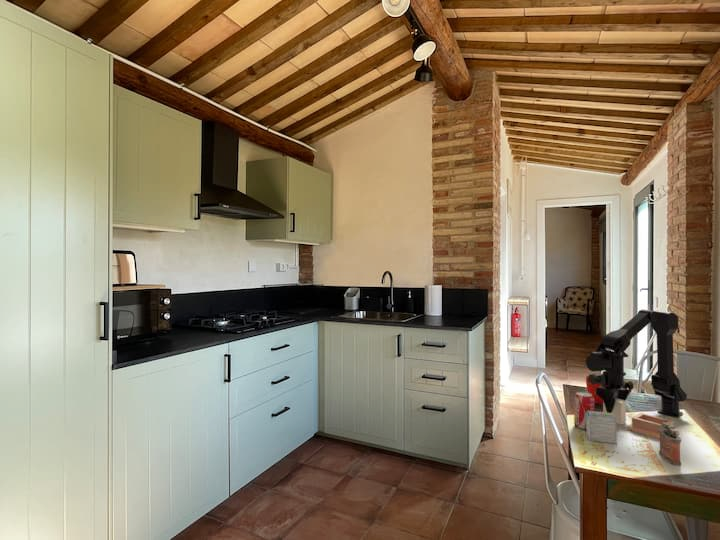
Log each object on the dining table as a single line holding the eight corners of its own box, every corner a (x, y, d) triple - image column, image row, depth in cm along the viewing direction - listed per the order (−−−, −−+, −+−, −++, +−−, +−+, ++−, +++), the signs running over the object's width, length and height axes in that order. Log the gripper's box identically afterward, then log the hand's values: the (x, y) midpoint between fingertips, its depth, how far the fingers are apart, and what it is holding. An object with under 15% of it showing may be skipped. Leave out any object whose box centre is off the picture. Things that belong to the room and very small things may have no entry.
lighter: (684, 466, 113) (684, 431, 113) (670, 465, 114) (670, 430, 113) (668, 453, 121) (668, 420, 121) (655, 452, 121) (655, 420, 121)
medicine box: (613, 438, 131) (612, 412, 131) (616, 444, 127) (616, 417, 127) (586, 435, 134) (586, 410, 134) (589, 441, 130) (589, 414, 130)
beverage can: (570, 424, 143) (570, 391, 143) (586, 423, 144) (586, 390, 144) (581, 431, 137) (581, 397, 137) (598, 430, 138) (598, 396, 138)
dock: (638, 422, 144) (638, 411, 144) (679, 433, 135) (679, 421, 135) (627, 429, 138) (627, 417, 138) (669, 441, 129) (669, 428, 129)
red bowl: (611, 395, 174) (611, 373, 174) (627, 409, 157) (627, 384, 157) (578, 394, 177) (578, 371, 177) (592, 407, 160) (591, 382, 160)
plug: (607, 417, 150) (607, 396, 150) (625, 422, 145) (625, 400, 145) (603, 419, 147) (603, 398, 147) (621, 424, 143) (621, 402, 142)
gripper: (601, 361, 158) (602, 400, 158) (580, 368, 147) (580, 410, 147) (633, 366, 149) (634, 407, 149) (613, 375, 138) (613, 419, 138)
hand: (614, 411), depth 146 cm, fingers open, 9 cm apart
